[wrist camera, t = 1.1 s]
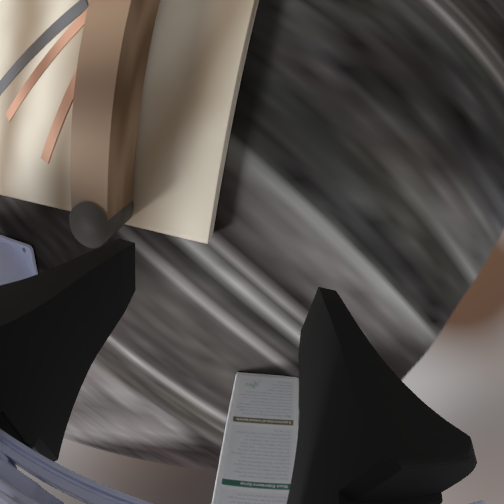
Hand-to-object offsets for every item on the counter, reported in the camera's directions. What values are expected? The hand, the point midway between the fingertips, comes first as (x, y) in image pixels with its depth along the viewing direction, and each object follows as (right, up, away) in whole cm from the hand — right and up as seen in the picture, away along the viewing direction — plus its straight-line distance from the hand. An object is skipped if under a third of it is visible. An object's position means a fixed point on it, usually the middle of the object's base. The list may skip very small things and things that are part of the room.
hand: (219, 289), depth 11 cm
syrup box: (+3, -12, +17) cm, 21 cm away
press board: (-9, +13, +5) cm, 17 cm away
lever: (-6, +11, +3) cm, 13 cm away
